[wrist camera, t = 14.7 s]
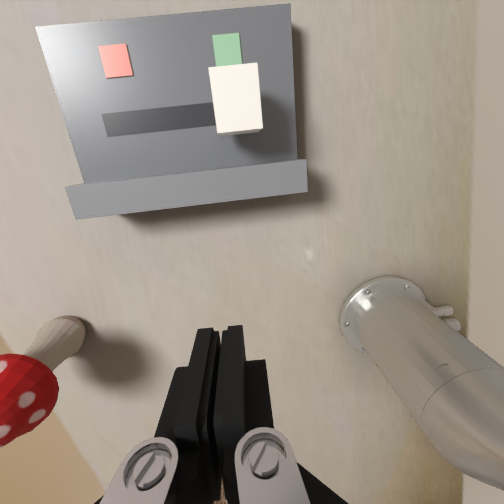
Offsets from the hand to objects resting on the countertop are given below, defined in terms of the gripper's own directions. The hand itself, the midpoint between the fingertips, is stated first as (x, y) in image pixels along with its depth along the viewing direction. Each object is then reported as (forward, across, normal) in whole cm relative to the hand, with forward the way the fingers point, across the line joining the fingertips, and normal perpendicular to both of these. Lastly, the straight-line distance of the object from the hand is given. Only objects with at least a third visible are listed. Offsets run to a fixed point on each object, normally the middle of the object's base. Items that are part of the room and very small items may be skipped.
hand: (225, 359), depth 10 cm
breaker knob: (+20, -1, -12) cm, 24 cm away
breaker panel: (+24, +4, -12) cm, 27 cm away
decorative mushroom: (+24, +24, +13) cm, 36 cm away
